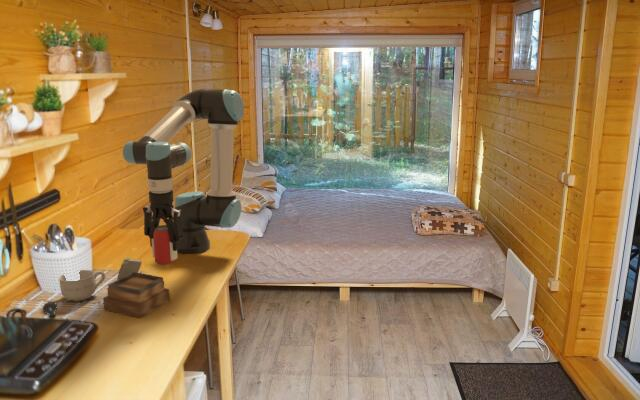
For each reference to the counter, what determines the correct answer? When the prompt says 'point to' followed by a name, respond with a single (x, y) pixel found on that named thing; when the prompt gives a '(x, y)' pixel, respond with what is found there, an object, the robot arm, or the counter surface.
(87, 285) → the teacup
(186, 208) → the robot arm
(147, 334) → the counter surface
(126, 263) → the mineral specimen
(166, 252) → the beer can
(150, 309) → the tower base
